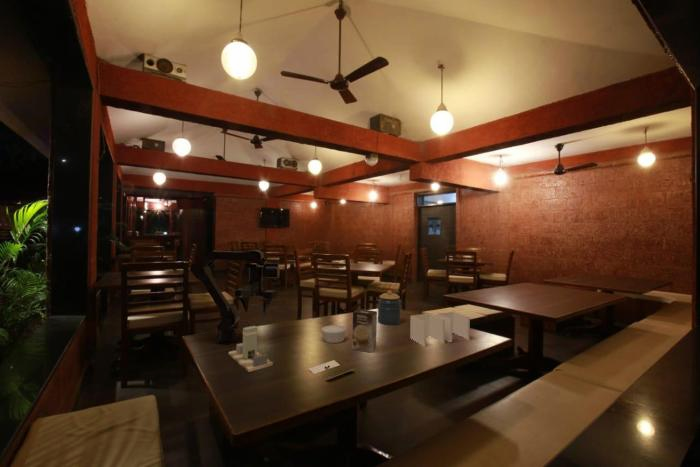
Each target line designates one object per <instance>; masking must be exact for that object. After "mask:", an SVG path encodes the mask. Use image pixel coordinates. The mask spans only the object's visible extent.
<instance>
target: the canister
mask: <svg viewBox="0 0 700 467" xmlns="http://www.w3.org/2000/svg"><path fill="white" fill-rule="evenodd" d="M378 297H379V299H378V300H377V302H378V305H377V322H378V323H379V324H382V325H387V326H392V325H393V326H394V325H395V326H396V325H399V324H401V322H402V316H401V315H402V306H401V303H402V299H400V295H398V293H394V292H392V290H387V292H385V293H382V294H380V295H379V296H378Z"/></svg>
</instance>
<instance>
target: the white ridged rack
mask: <svg viewBox="0 0 700 467" xmlns="http://www.w3.org/2000/svg"><path fill="white" fill-rule="evenodd" d="M235 349H236V352H237V353H239V354H243V342H240V343H237V344H236V347H235ZM248 355H250V356H251V357H252V358H253V367H257V366H260V365H264V364H267V359H268V354H267V353H266V354H265V353H264V354H261V356H256V355H254V354H253V353H251V351H248Z"/></svg>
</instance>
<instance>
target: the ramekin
mask: <svg viewBox="0 0 700 467" xmlns="http://www.w3.org/2000/svg"><path fill="white" fill-rule="evenodd" d="M321 332H322V338H323V340H324V342H326V343H328V344H337V343H342V342H344V340H345V339H346V332H347V327H345V326H344V325H343V326H342V325H339V324H337V325H336V324H334V325H333V324H331V325H326V326H323V327H322V328H321Z"/></svg>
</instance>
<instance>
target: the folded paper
mask: <svg viewBox="0 0 700 467" xmlns="http://www.w3.org/2000/svg"><path fill="white" fill-rule="evenodd" d="M338 366H340V364H339V362H337V361H336V360H334V359H333V360H330V361H328V362H327V361H326V362H324V363H322V364H321V363H320V364H318V365H316V366H312V367H309V368H308V370H309V371H310V373H312V374H318V373H320V372H323V371H327V370H329V369H332V368H335V367H338ZM353 370H355V368H353V369H350V370H348V371H347V370H346V371H345V372H342V373H339V374H338V375H334V376H332V377H329V378H327V379H326V381H329V380H330V379H334V378H336V377H339V376H342V375H344V374H347V373H349V372H352V371H353Z"/></svg>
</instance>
